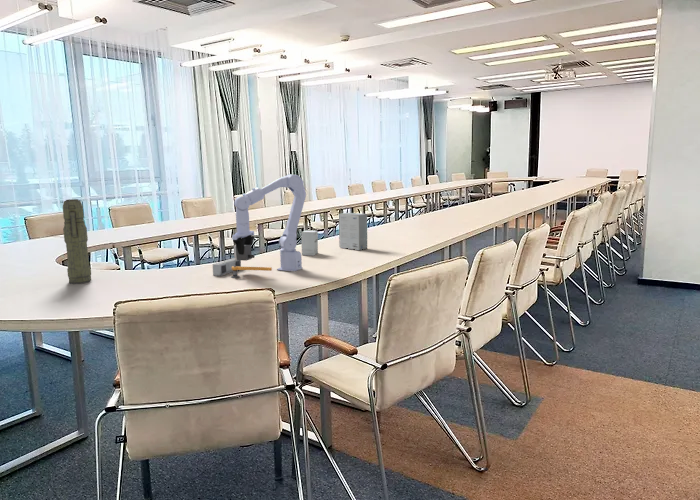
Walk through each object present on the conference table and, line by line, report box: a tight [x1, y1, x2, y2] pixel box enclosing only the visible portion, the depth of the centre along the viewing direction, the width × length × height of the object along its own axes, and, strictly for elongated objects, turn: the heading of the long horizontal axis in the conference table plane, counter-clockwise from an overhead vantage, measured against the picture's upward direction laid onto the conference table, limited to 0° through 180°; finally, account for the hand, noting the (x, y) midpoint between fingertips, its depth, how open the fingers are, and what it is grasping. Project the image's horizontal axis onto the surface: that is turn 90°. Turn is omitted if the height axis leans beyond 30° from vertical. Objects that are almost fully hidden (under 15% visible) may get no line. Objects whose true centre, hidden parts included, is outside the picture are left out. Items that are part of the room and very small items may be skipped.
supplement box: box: [300, 230, 319, 256], centre depth 283 cm, size 7×7×13 cm
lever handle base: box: [230, 270, 240, 279], centre depth 231 cm, size 4×4×3 cm
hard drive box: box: [338, 212, 368, 251], centre depth 299 cm, size 16×8×20 cm, turn 49°
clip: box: [232, 266, 273, 272], centre depth 229 cm, size 3×18×2 cm, turn 81°
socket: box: [212, 257, 242, 277], centre depth 241 cm, size 4×16×5 cm, turn 157°
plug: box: [233, 244, 255, 262], centre depth 238 cm, size 9×5×6 cm, turn 67°
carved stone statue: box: [62, 198, 92, 285], centre depth 223 cm, size 9×12×35 cm
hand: (244, 253), depth 238 cm, fingers closed on plug, 4 cm apart
